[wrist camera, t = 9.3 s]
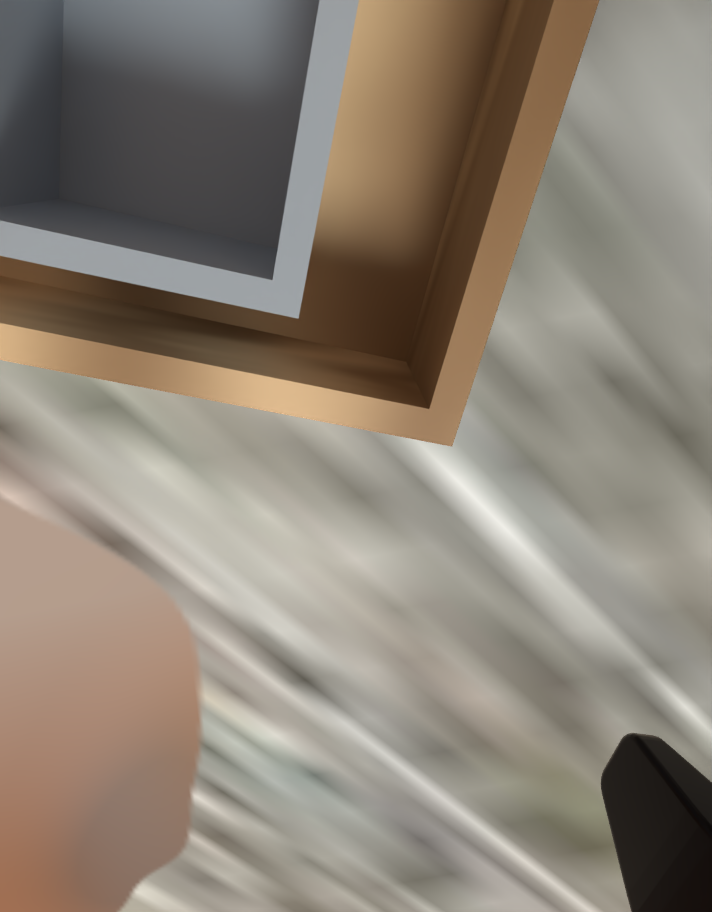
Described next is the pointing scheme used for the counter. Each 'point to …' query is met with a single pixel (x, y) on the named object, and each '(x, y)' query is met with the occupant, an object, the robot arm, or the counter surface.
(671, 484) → the counter surface
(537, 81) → the big crate
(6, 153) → the small crate
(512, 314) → the counter surface
